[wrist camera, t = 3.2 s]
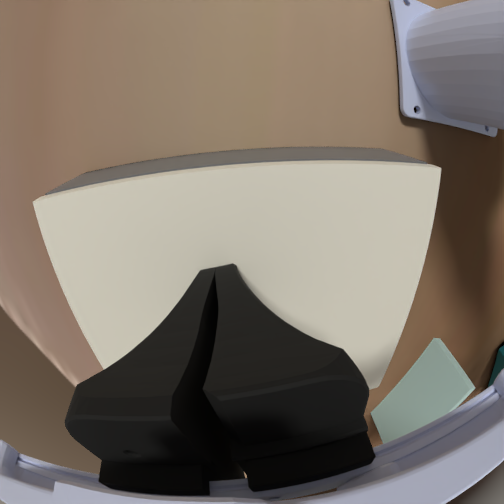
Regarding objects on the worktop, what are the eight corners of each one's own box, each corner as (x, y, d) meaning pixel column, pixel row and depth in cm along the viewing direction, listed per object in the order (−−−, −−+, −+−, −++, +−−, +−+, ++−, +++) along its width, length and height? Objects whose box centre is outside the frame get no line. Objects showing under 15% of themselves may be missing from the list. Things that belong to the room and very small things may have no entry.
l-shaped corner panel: (428, 400, 30) (450, 438, 23) (368, 409, 27) (390, 460, 20) (481, 336, 25) (512, 375, 18) (430, 334, 22) (470, 389, 16)
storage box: (382, 148, 14) (427, 162, 10) (355, 341, 20) (375, 379, 16) (84, 172, 12) (45, 193, 9) (144, 363, 19) (135, 406, 15)
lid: (432, 164, 10) (441, 168, 9) (375, 380, 16) (378, 386, 16) (40, 196, 9) (32, 201, 8) (135, 407, 15) (134, 414, 15)
